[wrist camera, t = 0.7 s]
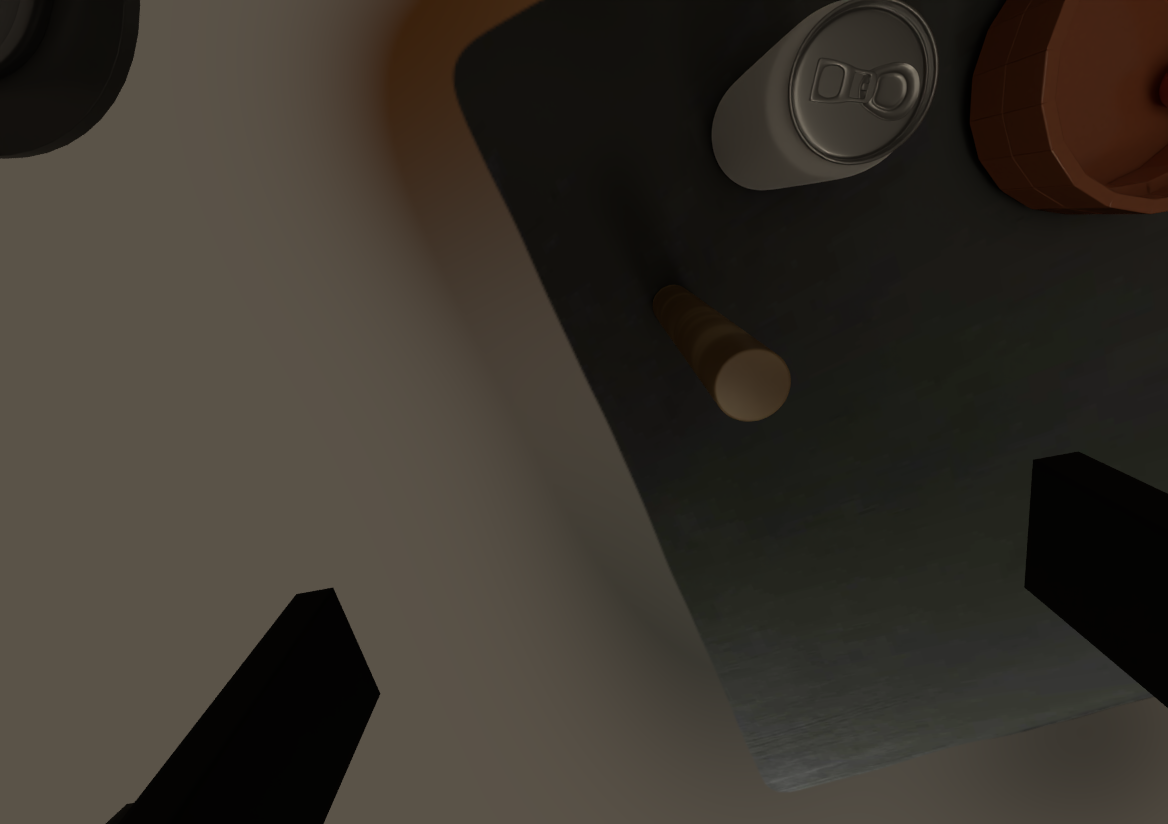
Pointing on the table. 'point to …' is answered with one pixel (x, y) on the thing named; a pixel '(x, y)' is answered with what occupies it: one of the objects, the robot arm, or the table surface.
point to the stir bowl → (1075, 105)
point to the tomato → (1164, 90)
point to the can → (828, 96)
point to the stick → (723, 356)
